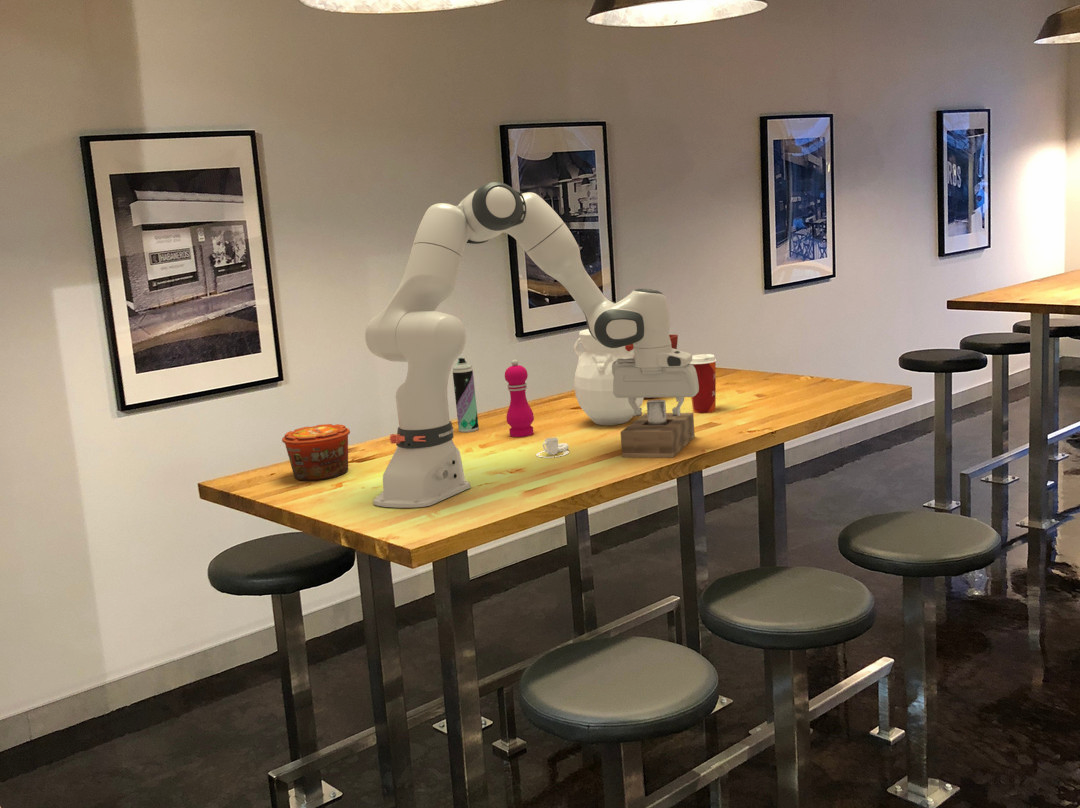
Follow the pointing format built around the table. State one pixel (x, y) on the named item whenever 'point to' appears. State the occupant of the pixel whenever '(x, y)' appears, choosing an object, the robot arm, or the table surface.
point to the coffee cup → (705, 383)
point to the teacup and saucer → (554, 447)
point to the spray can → (465, 396)
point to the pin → (656, 412)
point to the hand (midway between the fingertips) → (657, 415)
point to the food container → (318, 451)
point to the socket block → (657, 436)
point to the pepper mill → (518, 402)
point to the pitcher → (600, 382)
